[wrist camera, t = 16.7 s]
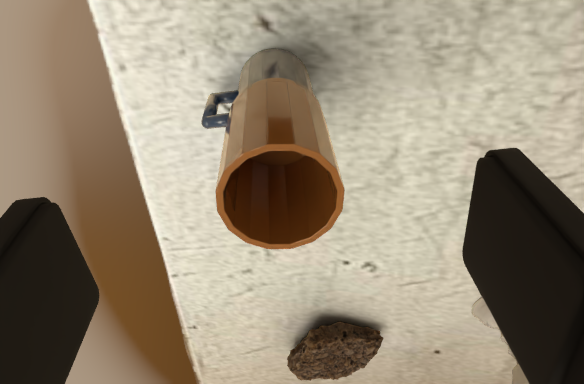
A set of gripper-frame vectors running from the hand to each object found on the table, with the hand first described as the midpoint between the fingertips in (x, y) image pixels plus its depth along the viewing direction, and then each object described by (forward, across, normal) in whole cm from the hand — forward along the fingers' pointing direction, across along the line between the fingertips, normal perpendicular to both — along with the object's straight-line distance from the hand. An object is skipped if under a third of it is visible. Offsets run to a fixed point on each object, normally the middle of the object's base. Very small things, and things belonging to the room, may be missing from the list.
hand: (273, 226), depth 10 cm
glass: (+22, 0, +8) cm, 23 cm away
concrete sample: (+31, -3, +44) cm, 54 cm away
